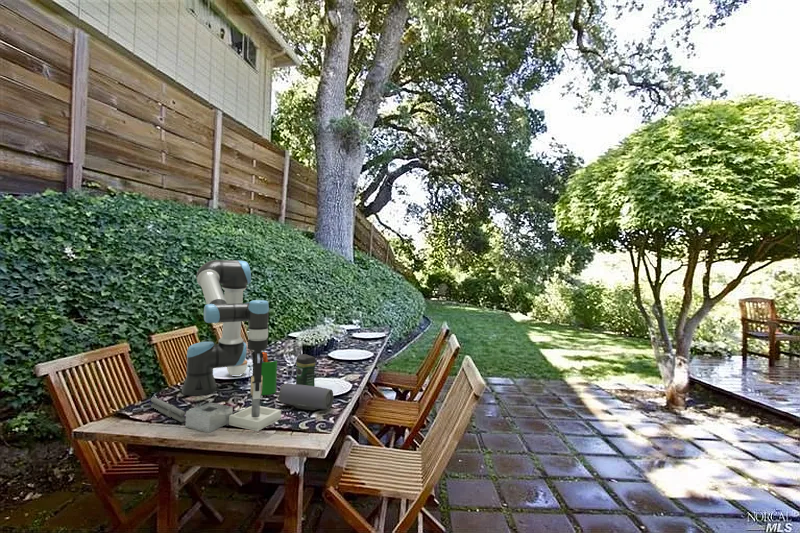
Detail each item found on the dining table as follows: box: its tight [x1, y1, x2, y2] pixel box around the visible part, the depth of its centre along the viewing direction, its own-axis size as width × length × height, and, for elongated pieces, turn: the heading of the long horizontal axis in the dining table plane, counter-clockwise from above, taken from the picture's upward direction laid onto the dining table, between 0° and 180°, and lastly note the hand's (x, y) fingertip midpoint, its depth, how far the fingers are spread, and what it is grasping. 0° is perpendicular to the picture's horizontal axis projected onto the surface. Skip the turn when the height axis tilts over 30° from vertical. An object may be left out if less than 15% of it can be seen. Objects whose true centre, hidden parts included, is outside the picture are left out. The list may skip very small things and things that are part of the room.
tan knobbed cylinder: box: [250, 375, 263, 417], centre depth 165 cm, size 4×4×16 cm
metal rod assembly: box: [150, 396, 186, 423], centre depth 169 cm, size 26×3×5 cm, turn 54°
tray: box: [228, 405, 282, 432], centre depth 165 cm, size 14×14×4 cm
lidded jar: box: [226, 359, 248, 376], centre depth 229 cm, size 11×11×9 cm
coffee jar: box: [295, 353, 316, 387], centre depth 204 cm, size 10×8×19 cm
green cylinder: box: [260, 351, 278, 396], centre depth 202 cm, size 10×9×20 cm
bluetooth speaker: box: [278, 383, 335, 411], centre depth 182 cm, size 23×9×10 cm, turn 74°
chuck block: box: [185, 401, 234, 433], centre depth 161 cm, size 12×12×6 cm
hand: (256, 396), depth 165 cm, fingers closed on tan knobbed cylinder, 4 cm apart
